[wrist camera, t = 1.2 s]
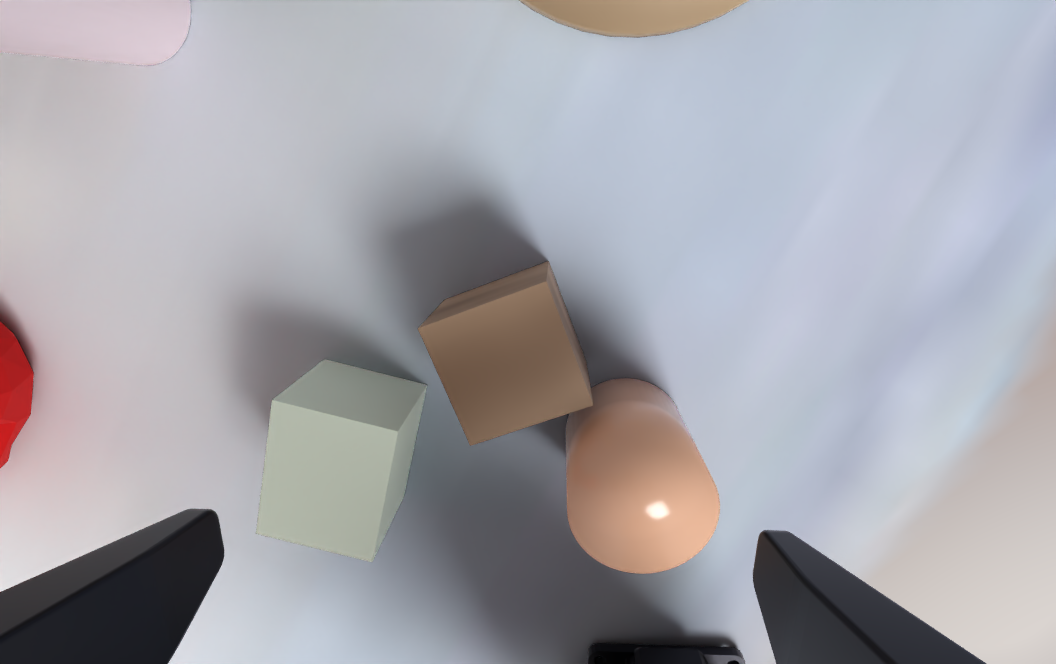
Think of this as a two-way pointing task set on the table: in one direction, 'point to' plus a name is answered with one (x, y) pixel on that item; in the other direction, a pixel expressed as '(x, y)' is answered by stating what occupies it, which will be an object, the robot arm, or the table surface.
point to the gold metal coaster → (632, 15)
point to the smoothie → (95, 29)
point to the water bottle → (13, 390)
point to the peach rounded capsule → (637, 480)
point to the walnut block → (508, 354)
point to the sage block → (338, 458)
